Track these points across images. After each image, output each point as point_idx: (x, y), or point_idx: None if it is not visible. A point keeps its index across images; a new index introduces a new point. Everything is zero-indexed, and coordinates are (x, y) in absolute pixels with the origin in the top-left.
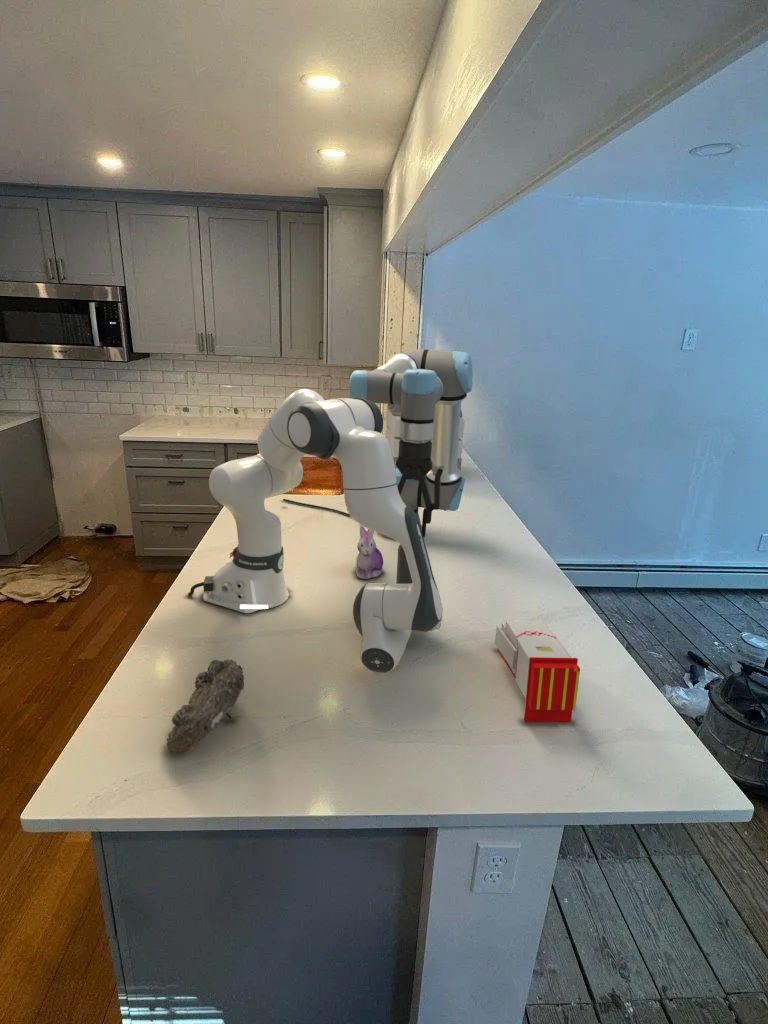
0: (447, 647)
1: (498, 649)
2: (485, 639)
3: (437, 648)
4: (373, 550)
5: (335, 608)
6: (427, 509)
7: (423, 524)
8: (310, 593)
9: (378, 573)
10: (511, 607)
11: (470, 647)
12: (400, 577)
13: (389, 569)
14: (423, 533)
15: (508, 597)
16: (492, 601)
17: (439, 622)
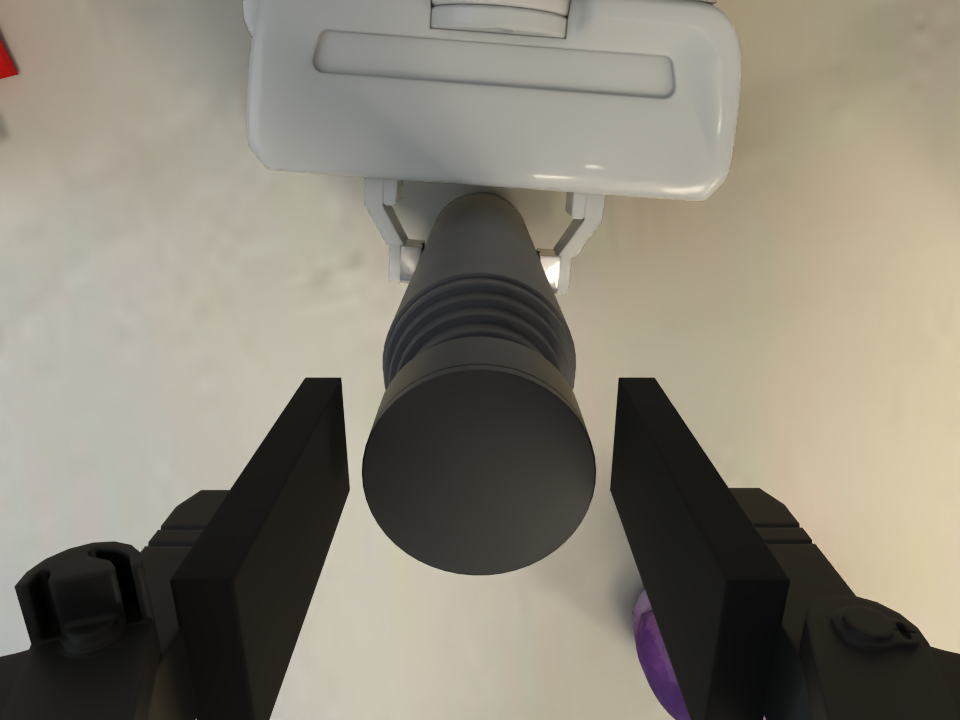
0: (249, 48)
1: (8, 64)
2: (95, 165)
3: None
4: None
5: (809, 270)
6: (125, 623)
7: (282, 452)
8: (937, 375)
9: (646, 595)
10: (41, 461)
11: (147, 76)
12: (518, 243)
13: (601, 649)
14: (306, 395)
15: (70, 537)
16: (128, 491)
17: (248, 6)
